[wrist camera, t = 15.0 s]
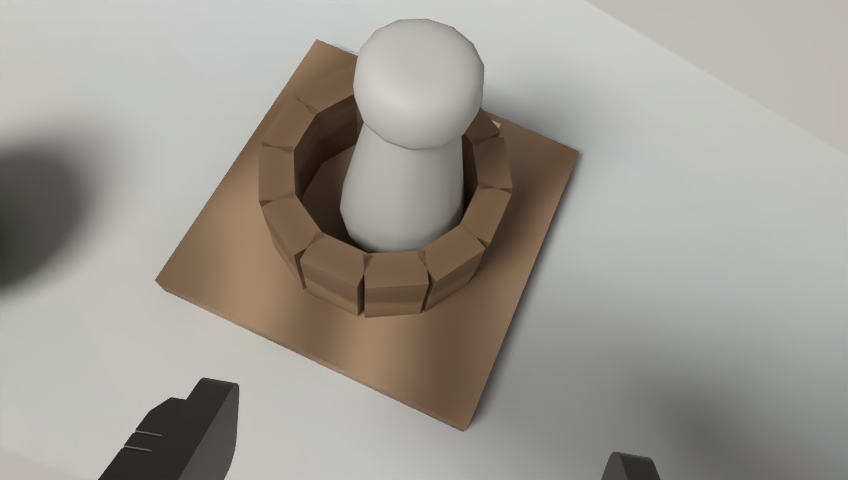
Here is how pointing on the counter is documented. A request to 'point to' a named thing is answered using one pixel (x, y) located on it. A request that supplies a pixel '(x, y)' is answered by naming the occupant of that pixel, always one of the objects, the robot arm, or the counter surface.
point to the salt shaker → (410, 135)
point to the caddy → (376, 272)
